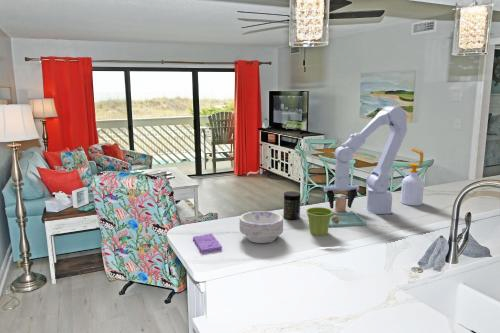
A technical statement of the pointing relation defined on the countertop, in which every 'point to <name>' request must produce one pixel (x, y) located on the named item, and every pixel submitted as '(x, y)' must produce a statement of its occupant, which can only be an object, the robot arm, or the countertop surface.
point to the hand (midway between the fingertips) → (340, 207)
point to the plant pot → (319, 220)
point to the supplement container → (291, 205)
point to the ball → (335, 219)
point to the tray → (347, 219)
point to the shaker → (340, 203)
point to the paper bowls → (261, 226)
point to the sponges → (207, 243)
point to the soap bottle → (413, 185)
